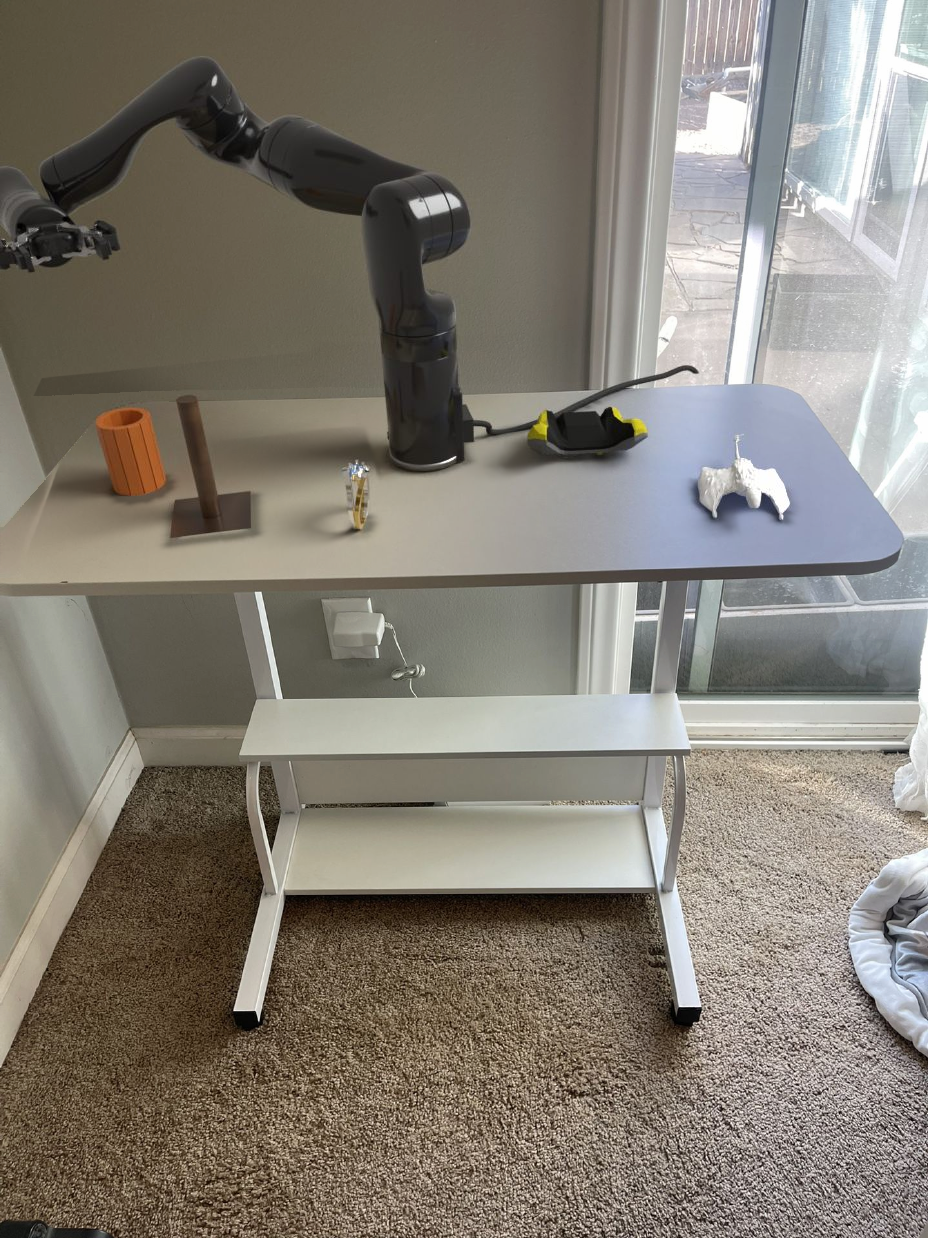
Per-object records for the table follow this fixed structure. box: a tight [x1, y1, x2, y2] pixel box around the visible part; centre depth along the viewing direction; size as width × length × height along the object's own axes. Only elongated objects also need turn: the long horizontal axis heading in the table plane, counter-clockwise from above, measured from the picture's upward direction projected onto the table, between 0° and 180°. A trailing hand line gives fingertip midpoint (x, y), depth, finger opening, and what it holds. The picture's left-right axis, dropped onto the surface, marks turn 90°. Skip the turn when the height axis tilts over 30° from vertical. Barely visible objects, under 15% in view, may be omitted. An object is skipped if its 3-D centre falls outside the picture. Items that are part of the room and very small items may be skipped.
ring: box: [341, 459, 371, 531], centre depth 103 cm, size 7×3×8 cm, turn 171°
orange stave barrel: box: [94, 406, 167, 497], centre depth 112 cm, size 6×6×10 cm
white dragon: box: [697, 433, 791, 521], centre depth 108 cm, size 18×10×4 cm, turn 174°
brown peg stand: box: [170, 394, 252, 539], centre depth 104 cm, size 9×9×15 cm
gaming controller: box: [526, 405, 649, 459], centre depth 118 cm, size 15×6×10 cm
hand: (67, 256), depth 107 cm, fingers open, 8 cm apart
